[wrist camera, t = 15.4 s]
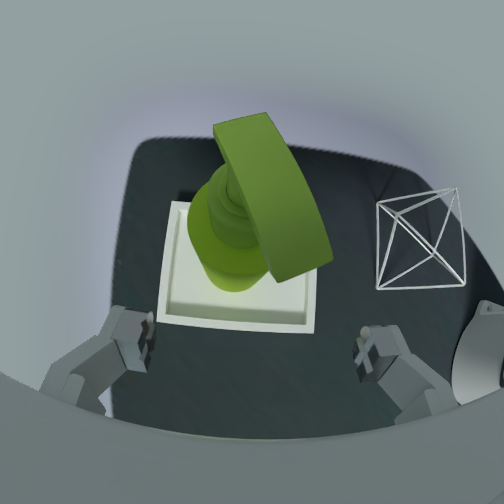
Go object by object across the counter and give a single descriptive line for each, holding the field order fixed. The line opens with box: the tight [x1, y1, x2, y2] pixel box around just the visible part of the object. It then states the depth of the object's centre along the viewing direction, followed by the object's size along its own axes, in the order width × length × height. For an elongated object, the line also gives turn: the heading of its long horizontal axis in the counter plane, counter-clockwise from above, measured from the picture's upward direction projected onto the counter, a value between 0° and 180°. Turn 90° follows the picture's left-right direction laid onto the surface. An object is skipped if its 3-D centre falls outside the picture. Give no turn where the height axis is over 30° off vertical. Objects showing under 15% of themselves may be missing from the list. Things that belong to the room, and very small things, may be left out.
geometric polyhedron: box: [375, 187, 466, 290], centre depth 26 cm, size 12×11×9 cm
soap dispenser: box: [187, 112, 333, 293], centre depth 17 cm, size 6×7×20 cm
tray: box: [157, 201, 317, 333], centre depth 27 cm, size 15×12×2 cm
